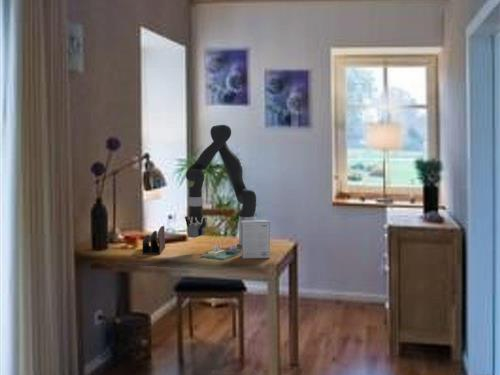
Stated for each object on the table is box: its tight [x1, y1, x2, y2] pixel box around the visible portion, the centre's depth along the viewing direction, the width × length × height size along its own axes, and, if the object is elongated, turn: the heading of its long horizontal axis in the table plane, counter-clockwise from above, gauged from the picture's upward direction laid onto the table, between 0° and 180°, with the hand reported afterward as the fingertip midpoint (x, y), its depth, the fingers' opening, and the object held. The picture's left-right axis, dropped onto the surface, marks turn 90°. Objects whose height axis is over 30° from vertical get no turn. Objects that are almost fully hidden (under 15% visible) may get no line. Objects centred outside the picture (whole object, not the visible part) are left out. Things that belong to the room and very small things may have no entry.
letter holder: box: [142, 225, 166, 256], centre depth 377 cm, size 10×20×14 cm, turn 179°
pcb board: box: [201, 243, 242, 261], centre depth 367 cm, size 18×14×6 cm
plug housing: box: [187, 223, 206, 239], centre depth 372 cm, size 10×5×6 cm, turn 150°
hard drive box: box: [241, 219, 271, 259], centre depth 362 cm, size 16×8×20 cm, turn 92°
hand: (196, 234), depth 372 cm, fingers closed on plug housing, 4 cm apart
